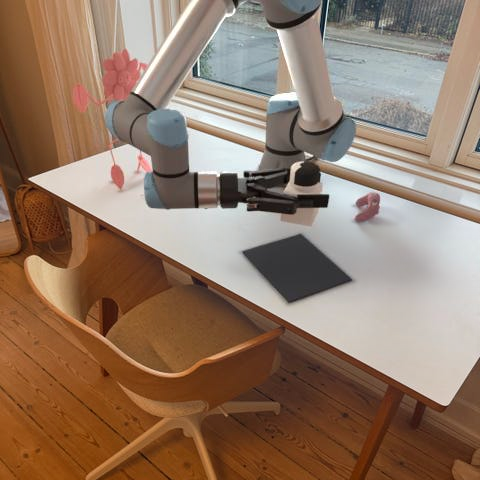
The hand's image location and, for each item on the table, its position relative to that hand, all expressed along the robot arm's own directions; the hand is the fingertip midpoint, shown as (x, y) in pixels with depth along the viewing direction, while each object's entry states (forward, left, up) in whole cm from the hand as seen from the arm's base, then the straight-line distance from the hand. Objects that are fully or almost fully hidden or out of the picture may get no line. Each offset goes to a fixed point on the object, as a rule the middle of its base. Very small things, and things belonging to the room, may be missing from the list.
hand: (323, 189), depth 100 cm
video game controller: (-24, -10, -18) cm, 32 cm away
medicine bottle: (+4, -2, -7) cm, 8 cm away
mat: (+6, +1, -18) cm, 19 cm away
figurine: (+25, -54, -18) cm, 62 cm away
